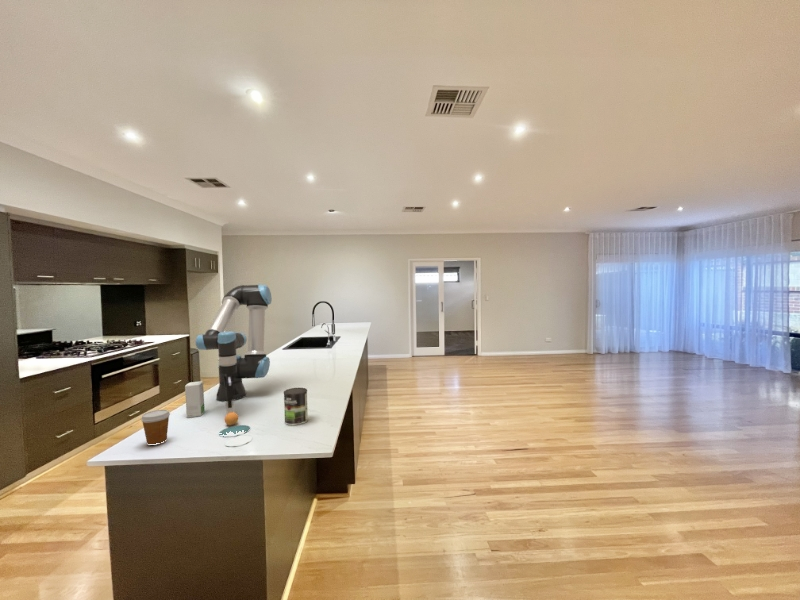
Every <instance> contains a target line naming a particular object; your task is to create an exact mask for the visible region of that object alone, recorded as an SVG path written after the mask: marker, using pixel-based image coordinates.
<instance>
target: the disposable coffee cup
mask: <svg viewBox="0 0 800 600" xmlns="http://www.w3.org/2000/svg"><path fill="white" fill-rule="evenodd" d="M170 415H171V412H169V410H168V409H156V410H152V411H148V412H145V413H143V414H142V416H141V419H140V421H141V422H142V425H143V430H144V436H145V439H146V444H147V443H148V444H156V443H161V442H163V441H165V440H166V439H167V440H168V429H169V419H170Z"/></svg>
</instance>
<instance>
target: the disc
mask: <svg viewBox="0 0 800 600" xmlns="http://www.w3.org/2000/svg"><path fill="white" fill-rule="evenodd" d="M249 429H250V430H251V427H250V426H249V425H245V424H240V425H231V426H228V427H226V428H223V429H222V430H220V431H219V433H222V434H219V433H218V435H219V436H220V435H223V434H224V435H227V434H226V432H227V433H229V432H230V431H231V432H233V433H234V434H236V431H237V433H238V432H239V431H241V432H242V430H244V432H245V431H248V430H249ZM250 430H249V431H250ZM249 431H248V432H249ZM222 438H225V437H224V436H223V437H222Z"/></svg>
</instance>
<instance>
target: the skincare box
mask: <svg viewBox="0 0 800 600" xmlns="http://www.w3.org/2000/svg"><path fill="white" fill-rule="evenodd" d="M184 392H185V395H184V396H185V409H186V410H185V411H186V418H187V419H188V418H189V417H191V418H197V417H196V416H198V417H201V416H202V415H203V414H204V413H205V411H206V410H205V394H204V393H205V391H204V381H203V380H200V381H193V382H192V381H191V382H188V383H186V385H185V386H184ZM203 412H204V413H203Z"/></svg>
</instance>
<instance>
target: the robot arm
mask: <svg viewBox="0 0 800 600" xmlns="http://www.w3.org/2000/svg"><path fill="white" fill-rule="evenodd" d="M271 304H272V292H271V290H270V288H269V286H268V285H265V284H249V285H243V284H241V285H238V286H235V287H234V288H232V289H230V290H229V291H228V292H226V294H225V295H224V296H223V297H222V299H221V304H220V307H219V309H218V310H217V312H216V314H215V316H214V318H213V319H212V322H211V323H210V324H209V326H208V328H207V330H206V331H205V333H204V334H203V333H202V334H199V335H197V336H196V338H195V346H196V348H197V349H198V350H202V351H203V350H206V351H208V350H218V358H217V361H218V367H217V368H218V381H219V386H218V389H217V392H216V401H218V400H219V401H218V402H225V404H226V405H225V407H226V415H227V414H228V413H231V412H234V403H233V402H234V401H237V400H239V399H242V398H245V397H246V395H247V391H246V388H245V386H244V384H243V379H244V380H245V379H260V378H265V377H266V376H267V375H268V372H269V371H270V366H271V361H270V360H271V359H270V358H269V356H267V352H265V351H264V349H265V321H266V320H265V319H266V318H265V316H266V310H267V309H268V308H269V305H271ZM240 306H246V309H247V310H248V330H247V331H248V332H247V333H248V334H247V336H246V334H244V333H242V332H235V331H226V328H227V327H228V325H229V323H230V321H231V319H232V318H233V315H234V314H235V312H236V310H238V309H239V307H240ZM246 343H247V351H246V352H245V353H244V357H242V355H241V354H237V349H240V348H242V347H243V346H245V345H246Z"/></svg>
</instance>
